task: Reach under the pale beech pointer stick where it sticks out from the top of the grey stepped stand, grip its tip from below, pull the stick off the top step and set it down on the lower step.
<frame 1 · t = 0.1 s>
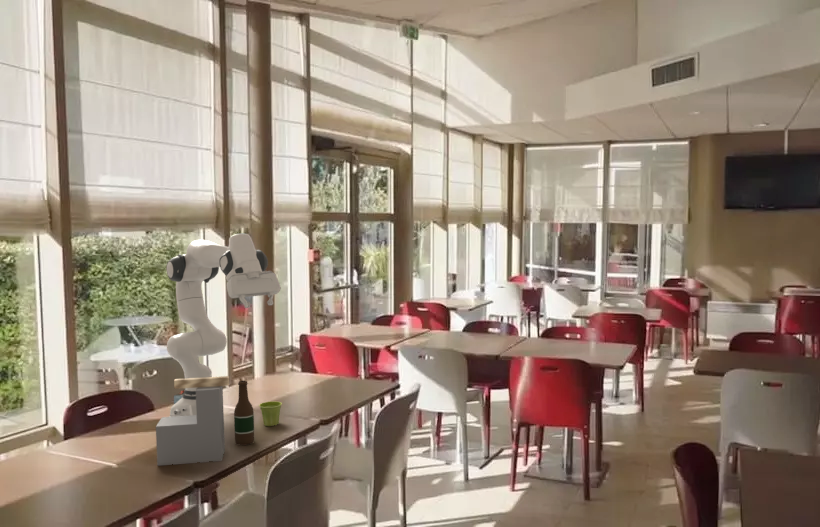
hand: (259, 305, 255), 54 cm above the table, tool tilted 30°, fingers open, 8 cm apart
beer bottle: (244, 442, 269), on the table
stand: (187, 457, 252), on the table
beverage carton: (189, 403, 332), on the table
stick: (202, 386, 251), point 26 cm above the table, touching stand
plant pot: (271, 424, 292), on the table
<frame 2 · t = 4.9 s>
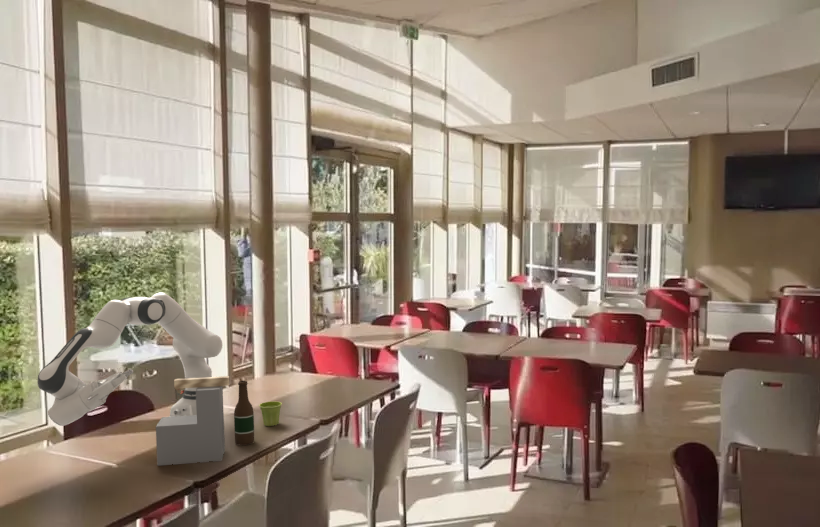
hand: (129, 373, 247), 32 cm above the table, tool pointing upward, fingers open, 8 cm apart
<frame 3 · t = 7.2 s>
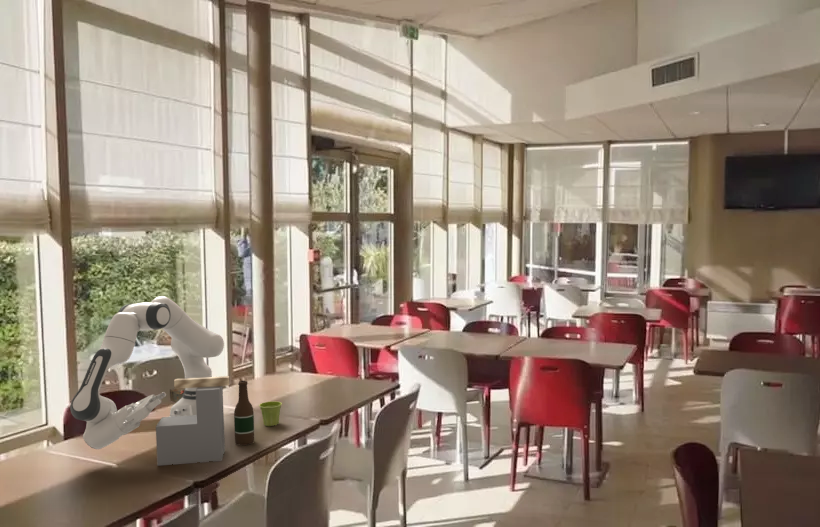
hand: (162, 397, 249), 23 cm above the table, tool pointing upward, fingers open, 8 cm apart
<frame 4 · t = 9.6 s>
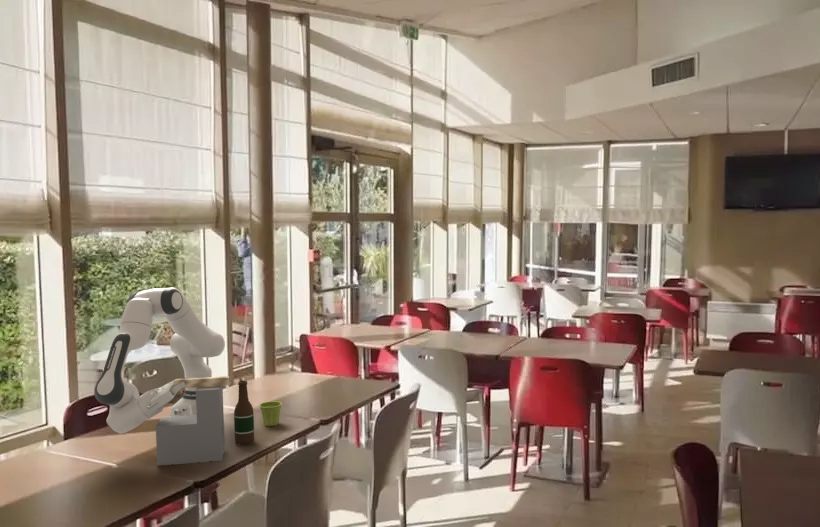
hand: (185, 382, 250), 28 cm above the table, tool pointing upward, fingers closed on stick, 2 cm apart
stick: (202, 386, 251), point 26 cm above the table, touching gripper, stand
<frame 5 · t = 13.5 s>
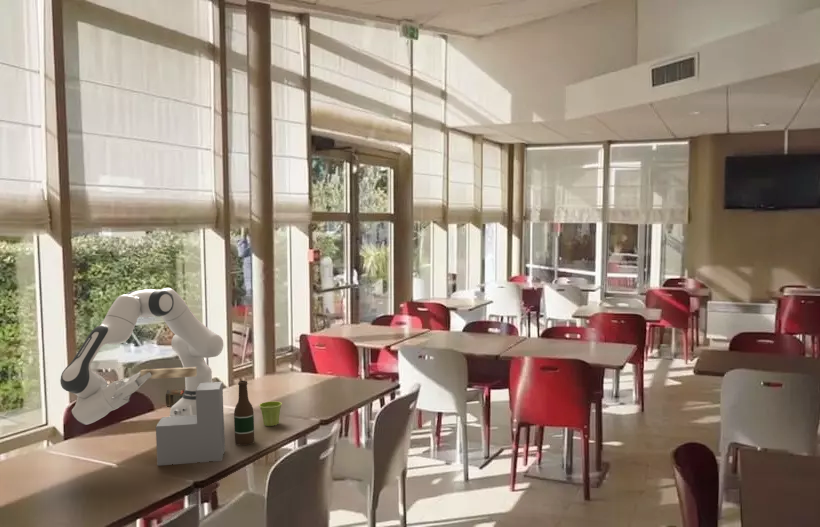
hand: (152, 372, 248), 32 cm above the table, tool pointing upward, fingers closed on stick, 2 cm apart
stick: (169, 377, 249), point 30 cm above the table, touching gripper
when the fingers open (18 cm above the table, at t = 17.5 s): stick drops 3 cm, resting on stand.
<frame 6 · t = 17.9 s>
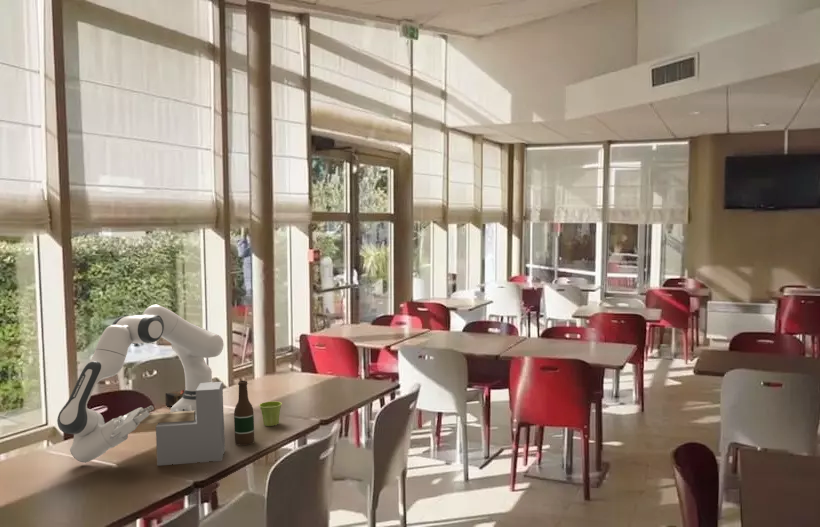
hand: (150, 410, 248), 18 cm above the table, tool pointing upward, fingers open, 6 cm apart
stick: (167, 421, 250), point 14 cm above the table, touching stand
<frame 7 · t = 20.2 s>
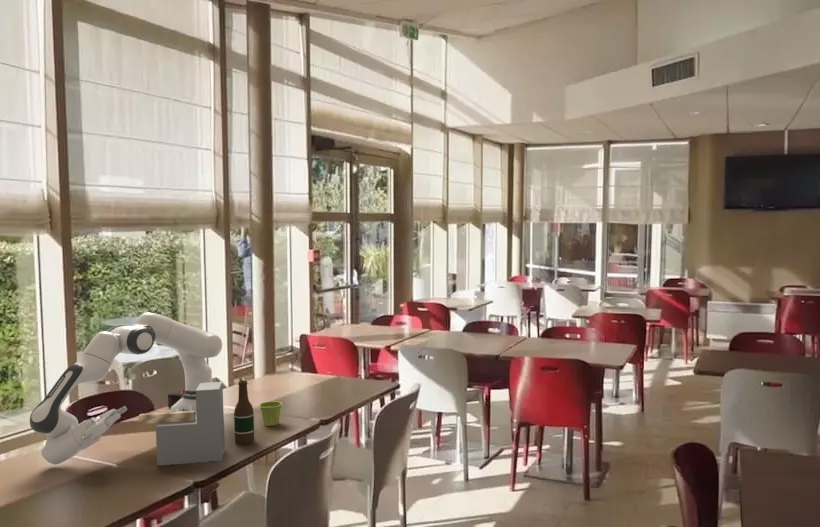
hand: (122, 411, 247), 19 cm above the table, tool pointing upward, fingers open, 8 cm apart
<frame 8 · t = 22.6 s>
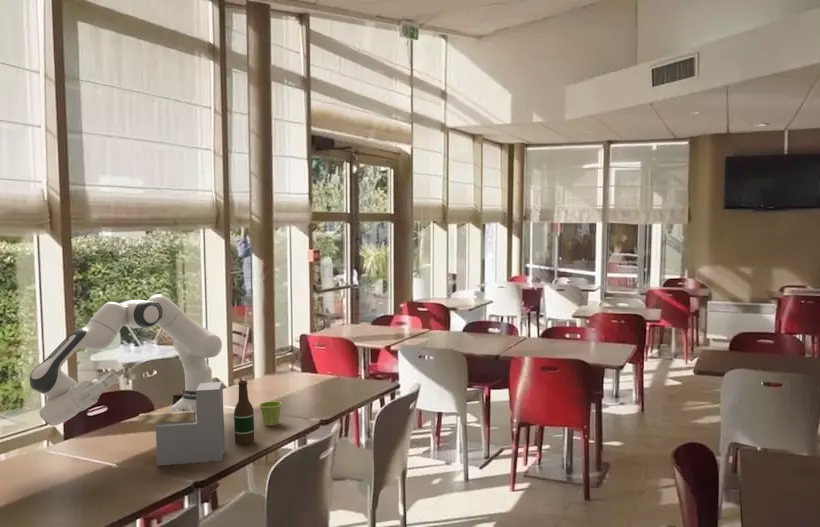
hand: (120, 373, 246), 32 cm above the table, tool pointing upward, fingers open, 8 cm apart
at the end: stick inside the target area (0.4 cm from its centre), point 14.0 cm above the table; stick tilted 0°; the gripper is holding nothing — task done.
